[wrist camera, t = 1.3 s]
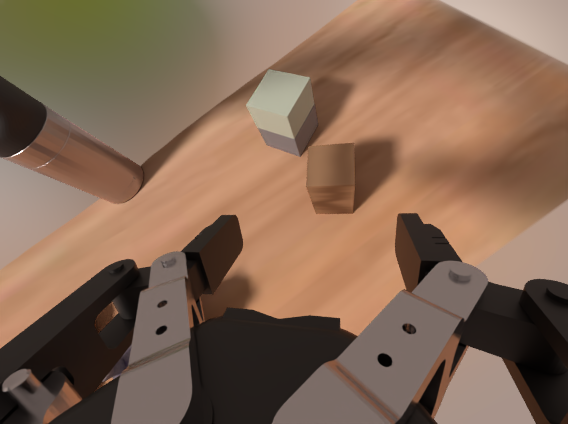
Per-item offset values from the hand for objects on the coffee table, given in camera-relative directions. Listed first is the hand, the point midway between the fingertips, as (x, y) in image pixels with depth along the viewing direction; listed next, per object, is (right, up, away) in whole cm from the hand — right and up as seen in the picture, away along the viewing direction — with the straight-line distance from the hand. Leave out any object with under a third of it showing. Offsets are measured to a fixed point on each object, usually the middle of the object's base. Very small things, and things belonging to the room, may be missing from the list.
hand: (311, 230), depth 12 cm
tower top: (-1, +16, +27) cm, 32 cm away
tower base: (0, +15, +31) cm, 35 cm away
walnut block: (+6, +3, +25) cm, 26 cm away
